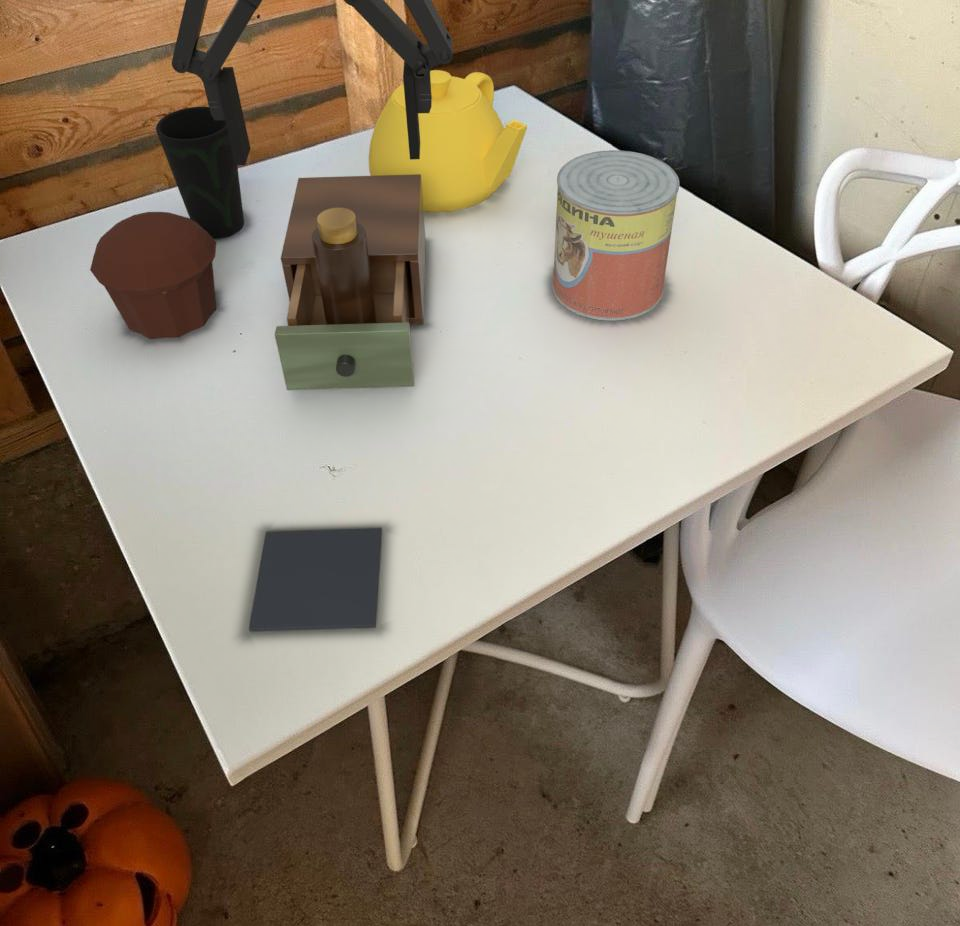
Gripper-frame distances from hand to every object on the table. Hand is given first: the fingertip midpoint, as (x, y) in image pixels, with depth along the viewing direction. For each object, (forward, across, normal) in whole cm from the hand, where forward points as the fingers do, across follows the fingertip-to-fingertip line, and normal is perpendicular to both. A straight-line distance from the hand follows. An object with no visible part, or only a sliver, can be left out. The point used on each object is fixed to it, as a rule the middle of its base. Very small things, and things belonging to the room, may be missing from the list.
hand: (329, 154), depth 73 cm
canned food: (+21, -25, -10) cm, 34 cm away
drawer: (+19, 0, 0) cm, 19 cm away
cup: (+20, +17, -24) cm, 36 cm away
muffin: (+20, +19, -8) cm, 29 cm away
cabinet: (+20, 0, -12) cm, 23 cm away
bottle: (+18, 0, 0) cm, 18 cm away
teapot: (+21, -10, -32) cm, 39 cm away
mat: (+20, +1, +26) cm, 33 cm away
